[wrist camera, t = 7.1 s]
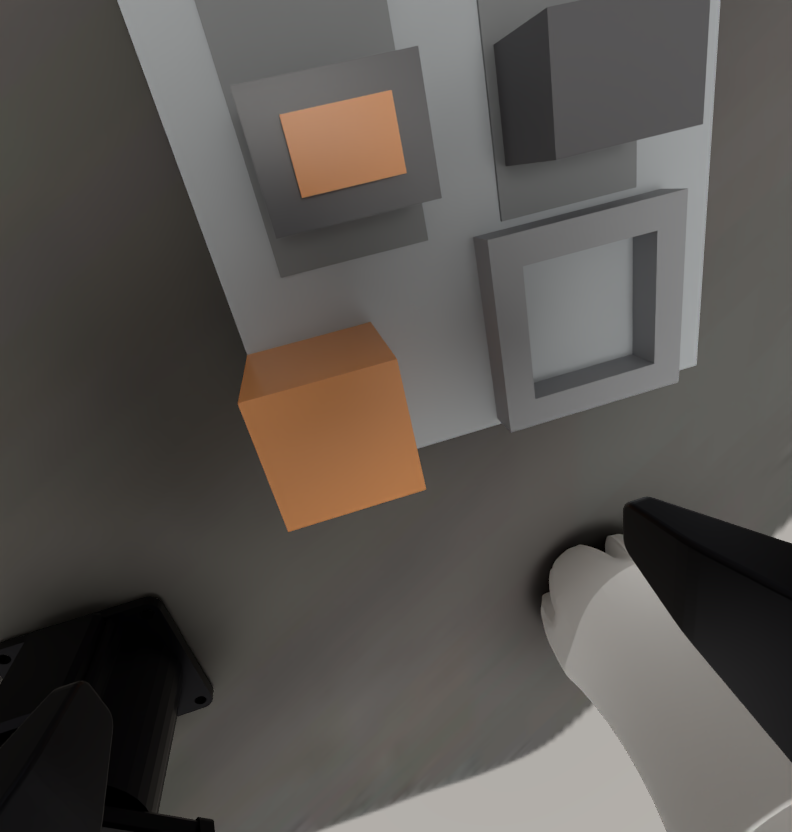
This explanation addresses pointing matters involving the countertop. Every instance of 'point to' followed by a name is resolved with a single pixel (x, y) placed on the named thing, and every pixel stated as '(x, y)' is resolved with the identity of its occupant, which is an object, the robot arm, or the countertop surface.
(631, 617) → the water bottle
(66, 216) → the countertop surface
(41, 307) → the countertop surface
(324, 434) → the cap
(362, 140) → the block
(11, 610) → the countertop surface
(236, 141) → the panel
